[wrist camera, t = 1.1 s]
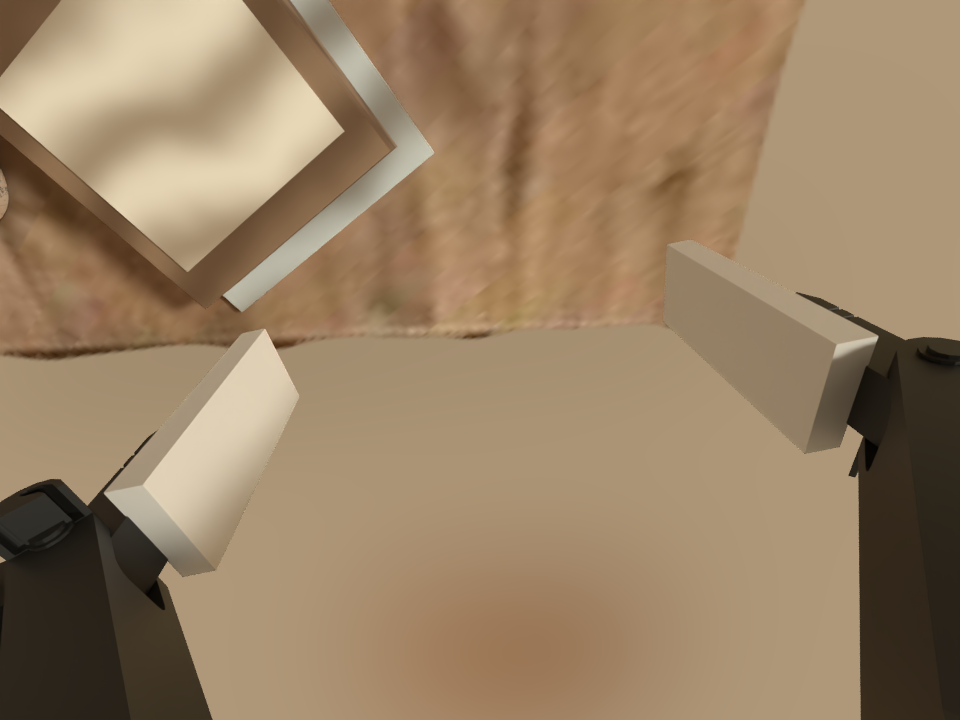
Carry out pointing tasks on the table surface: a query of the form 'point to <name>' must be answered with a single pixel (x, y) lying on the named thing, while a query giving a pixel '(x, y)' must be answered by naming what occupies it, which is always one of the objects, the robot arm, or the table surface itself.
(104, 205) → the plinth
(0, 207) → the teacup with lid
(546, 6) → the table surface
